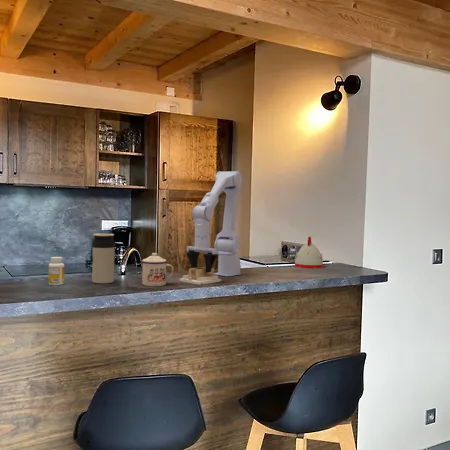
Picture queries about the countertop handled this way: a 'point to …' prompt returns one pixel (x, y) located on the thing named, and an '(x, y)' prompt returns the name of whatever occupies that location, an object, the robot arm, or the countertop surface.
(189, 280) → the cream flat piece
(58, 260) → the supplement bottle
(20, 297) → the countertop surface
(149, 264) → the teacup with lid
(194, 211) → the robot arm
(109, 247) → the travel mug
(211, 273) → the frame
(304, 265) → the kitchen timer
